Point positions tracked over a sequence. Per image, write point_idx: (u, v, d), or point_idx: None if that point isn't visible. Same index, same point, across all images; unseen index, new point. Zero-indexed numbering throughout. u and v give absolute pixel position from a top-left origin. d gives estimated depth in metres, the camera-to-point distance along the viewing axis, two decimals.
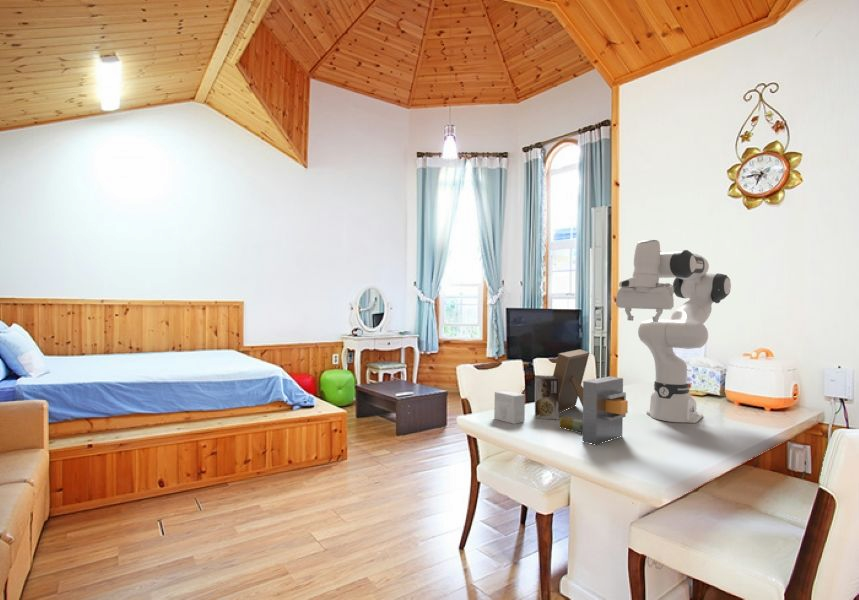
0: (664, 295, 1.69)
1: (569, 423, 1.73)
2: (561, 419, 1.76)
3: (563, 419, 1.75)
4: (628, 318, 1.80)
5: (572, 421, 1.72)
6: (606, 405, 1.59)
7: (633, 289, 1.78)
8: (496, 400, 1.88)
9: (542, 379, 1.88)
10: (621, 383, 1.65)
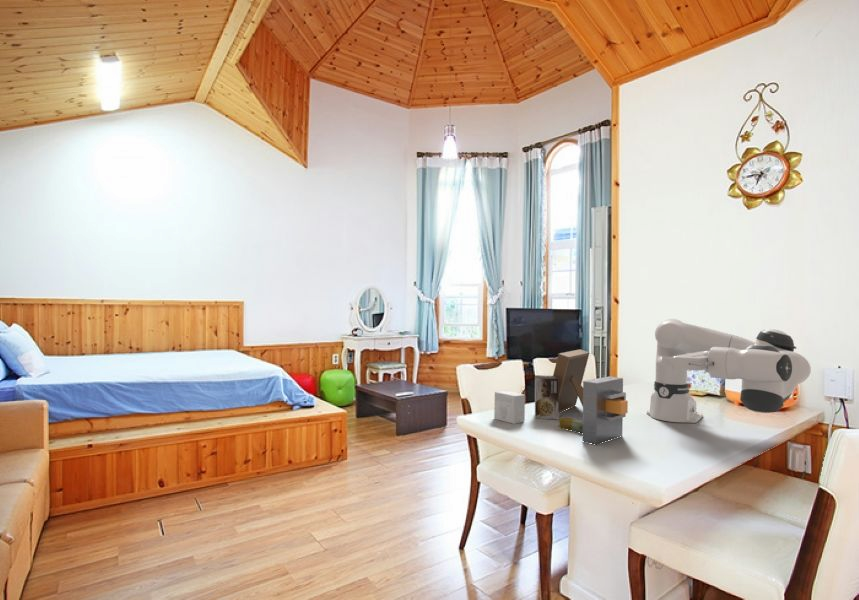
0: (691, 357, 1.35)
1: (569, 423, 1.73)
2: (560, 419, 1.76)
3: (562, 419, 1.75)
4: (678, 354, 1.51)
5: (571, 421, 1.72)
6: (606, 405, 1.59)
7: None
8: (496, 400, 1.88)
9: (542, 379, 1.88)
10: (621, 383, 1.65)
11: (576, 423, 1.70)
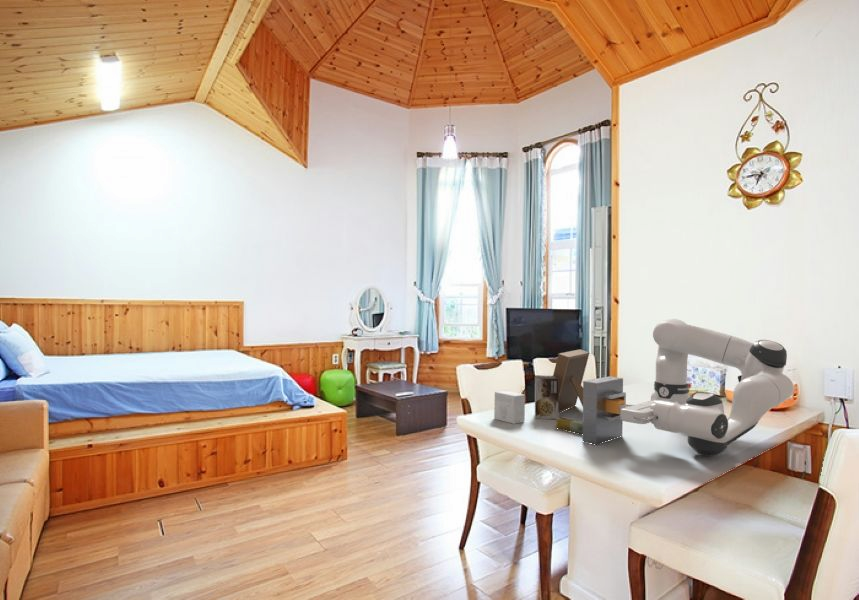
0: (636, 410, 1.45)
1: (566, 424, 1.72)
2: (558, 420, 1.74)
3: (560, 420, 1.74)
4: (625, 404, 1.57)
5: (569, 422, 1.71)
6: None
7: None
8: (496, 400, 1.88)
9: (542, 379, 1.88)
10: (621, 383, 1.65)
11: (574, 424, 1.69)
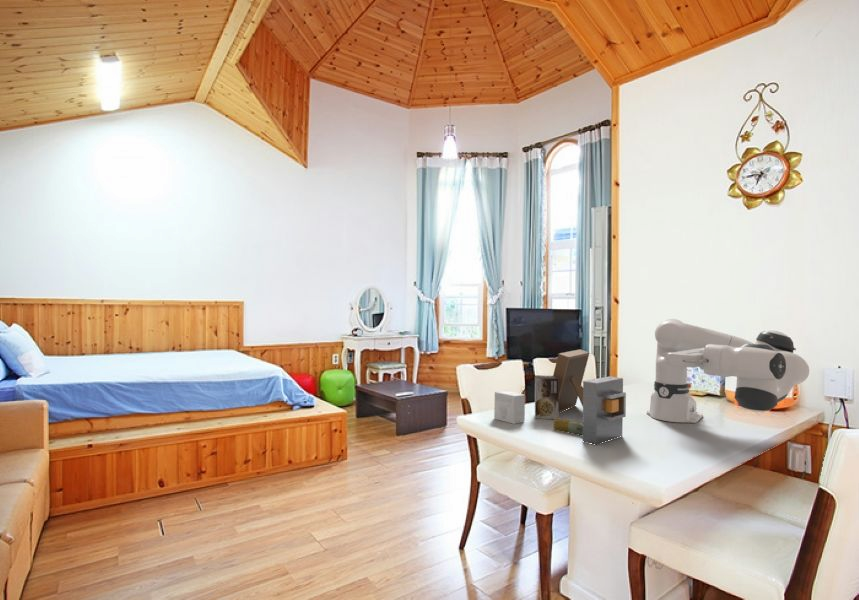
0: (685, 354, 1.37)
1: (565, 425, 1.70)
2: (555, 421, 1.73)
3: (558, 421, 1.72)
4: (669, 352, 1.49)
5: (568, 423, 1.70)
6: None
7: None
8: (496, 400, 1.88)
9: (542, 379, 1.88)
10: (621, 383, 1.65)
11: (573, 425, 1.68)
